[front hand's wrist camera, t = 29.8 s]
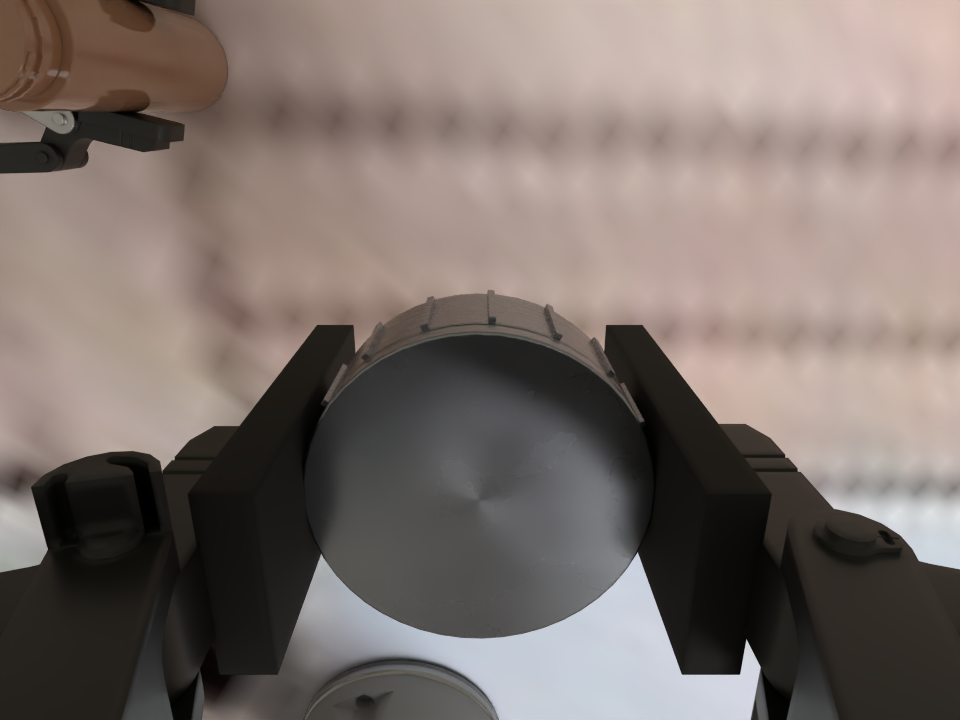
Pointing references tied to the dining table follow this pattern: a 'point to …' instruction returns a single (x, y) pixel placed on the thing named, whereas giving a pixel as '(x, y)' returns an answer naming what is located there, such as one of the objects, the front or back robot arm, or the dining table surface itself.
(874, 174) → the dining table surface
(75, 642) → the front robot arm
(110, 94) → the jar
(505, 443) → the lid
